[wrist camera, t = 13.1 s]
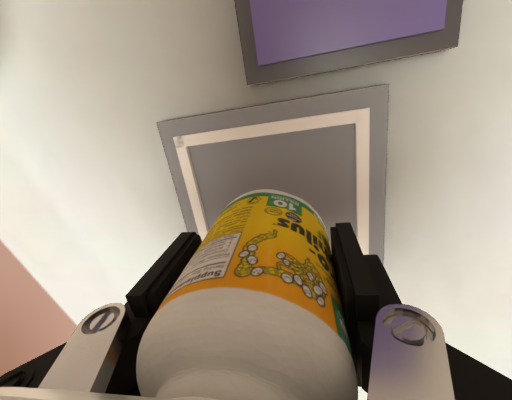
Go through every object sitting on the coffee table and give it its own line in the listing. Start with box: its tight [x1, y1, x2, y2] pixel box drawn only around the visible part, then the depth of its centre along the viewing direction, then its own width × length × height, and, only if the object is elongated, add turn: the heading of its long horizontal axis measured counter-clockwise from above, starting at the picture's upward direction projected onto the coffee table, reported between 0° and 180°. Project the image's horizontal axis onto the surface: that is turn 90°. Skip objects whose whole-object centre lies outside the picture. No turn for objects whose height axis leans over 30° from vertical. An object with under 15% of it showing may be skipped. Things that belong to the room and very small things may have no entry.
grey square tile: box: [156, 84, 389, 264], centre depth 15 cm, size 12×12×1 cm
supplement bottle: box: [136, 189, 358, 400], centre depth 8 cm, size 5×5×10 cm
